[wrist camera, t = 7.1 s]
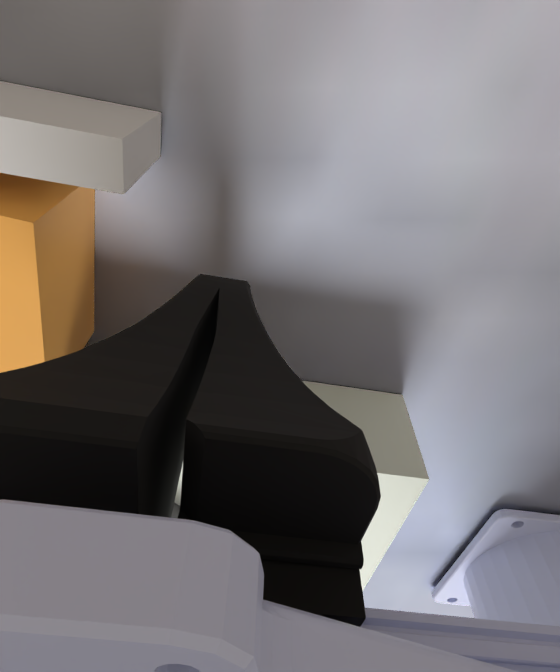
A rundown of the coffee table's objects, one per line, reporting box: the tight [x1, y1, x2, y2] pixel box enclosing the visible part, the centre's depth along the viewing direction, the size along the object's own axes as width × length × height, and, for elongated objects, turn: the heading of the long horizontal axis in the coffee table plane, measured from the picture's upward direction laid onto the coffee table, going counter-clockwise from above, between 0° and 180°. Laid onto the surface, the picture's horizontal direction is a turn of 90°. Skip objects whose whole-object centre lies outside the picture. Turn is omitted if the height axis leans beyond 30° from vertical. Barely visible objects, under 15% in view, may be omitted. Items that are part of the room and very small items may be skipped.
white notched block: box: [0, 81, 429, 591], centre depth 13 cm, size 16×16×4 cm
